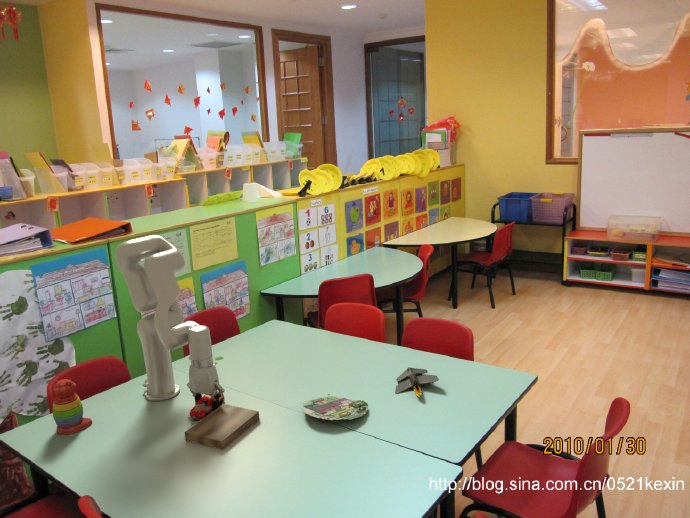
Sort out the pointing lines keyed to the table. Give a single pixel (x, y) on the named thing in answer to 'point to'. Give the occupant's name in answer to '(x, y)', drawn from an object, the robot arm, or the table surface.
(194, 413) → the race car
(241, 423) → the walnut base
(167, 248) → the robot arm
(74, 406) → the stacking bear
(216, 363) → the toy pieces
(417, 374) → the toy plane
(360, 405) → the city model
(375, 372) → the table surface
